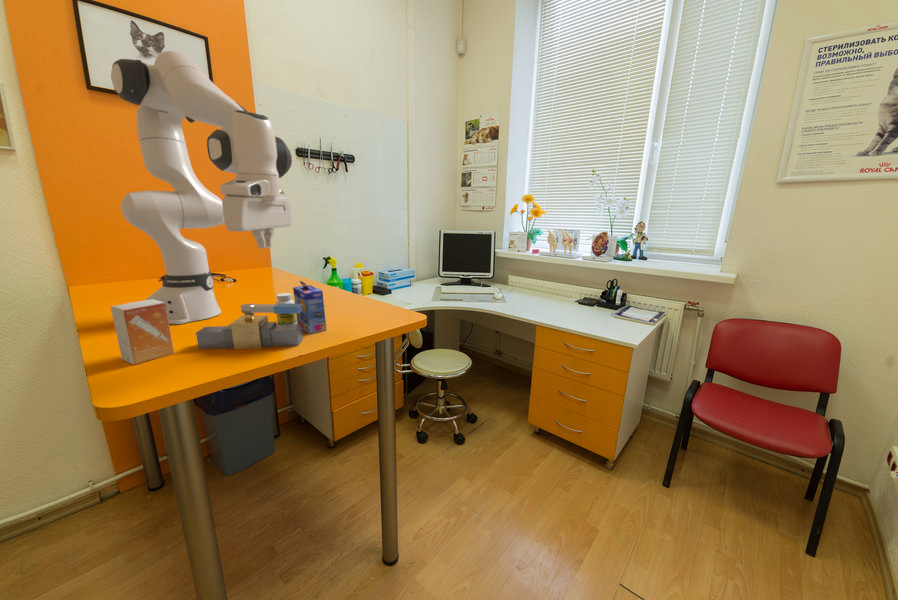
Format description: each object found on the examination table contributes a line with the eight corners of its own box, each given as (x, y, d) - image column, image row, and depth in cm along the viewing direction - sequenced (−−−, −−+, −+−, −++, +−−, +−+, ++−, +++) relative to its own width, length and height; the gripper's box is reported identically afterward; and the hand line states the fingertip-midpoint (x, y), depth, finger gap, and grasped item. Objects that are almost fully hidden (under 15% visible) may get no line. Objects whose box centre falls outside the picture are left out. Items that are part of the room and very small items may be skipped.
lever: (239, 313, 89) (238, 306, 88) (245, 310, 92) (244, 303, 92) (298, 313, 90) (297, 306, 89) (302, 310, 93) (301, 303, 92)
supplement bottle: (294, 320, 112) (292, 291, 110) (298, 325, 108) (295, 295, 106) (276, 323, 109) (273, 293, 107) (279, 328, 105) (275, 297, 103)
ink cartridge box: (295, 325, 108) (291, 279, 104) (313, 322, 111) (310, 277, 108) (308, 334, 101) (304, 284, 97) (327, 330, 104) (323, 282, 101)
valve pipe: (196, 350, 88) (190, 317, 86) (209, 341, 94) (204, 310, 92) (297, 347, 91) (294, 315, 89) (303, 338, 97) (301, 308, 95)
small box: (134, 365, 79) (122, 310, 76) (121, 359, 82) (109, 305, 79) (175, 353, 86) (165, 301, 83) (162, 348, 89) (152, 298, 86)
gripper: (273, 189, 92) (278, 242, 96) (213, 185, 73) (222, 252, 77) (296, 190, 92) (299, 243, 95) (241, 186, 72) (249, 254, 76)
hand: (264, 247), depth 86 cm, fingers closed
